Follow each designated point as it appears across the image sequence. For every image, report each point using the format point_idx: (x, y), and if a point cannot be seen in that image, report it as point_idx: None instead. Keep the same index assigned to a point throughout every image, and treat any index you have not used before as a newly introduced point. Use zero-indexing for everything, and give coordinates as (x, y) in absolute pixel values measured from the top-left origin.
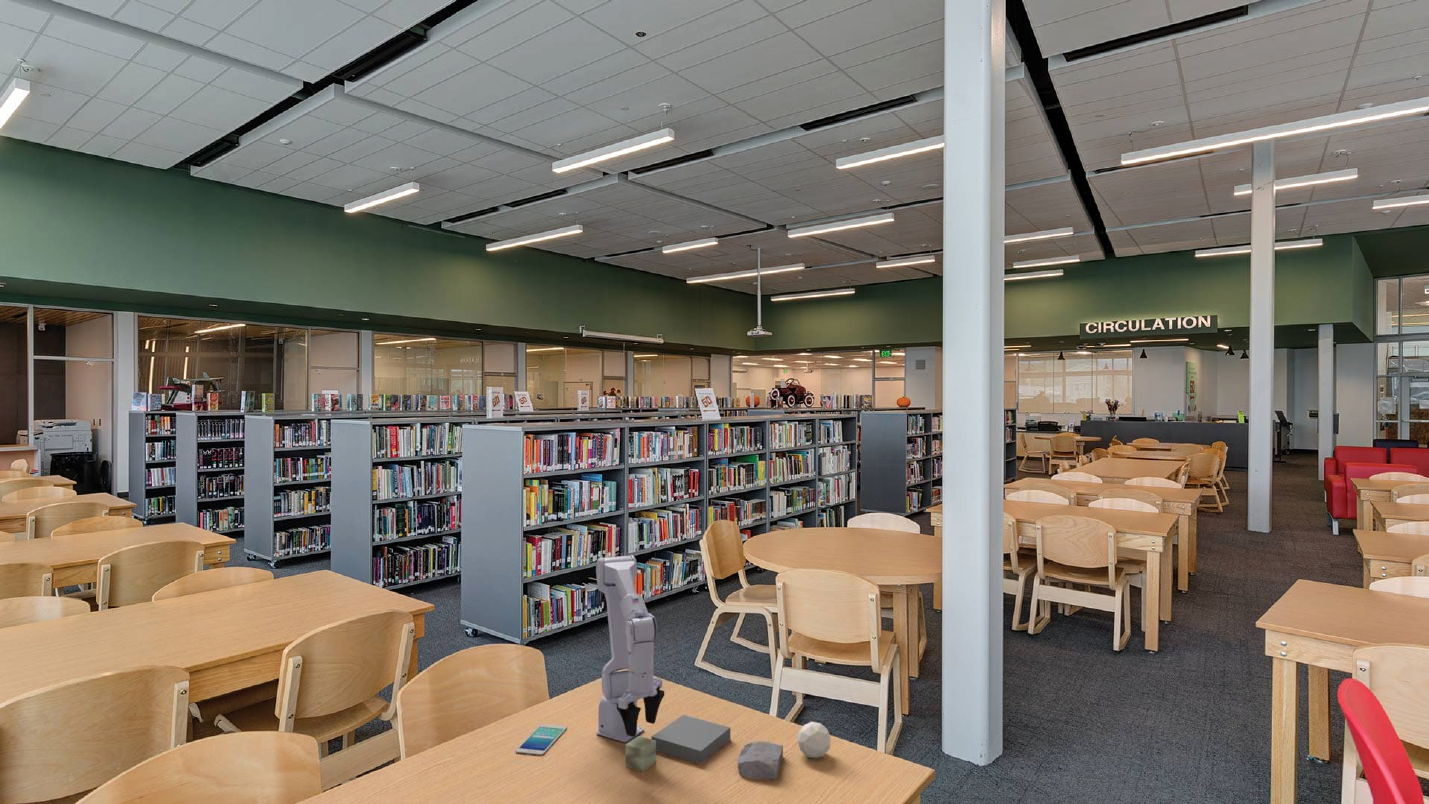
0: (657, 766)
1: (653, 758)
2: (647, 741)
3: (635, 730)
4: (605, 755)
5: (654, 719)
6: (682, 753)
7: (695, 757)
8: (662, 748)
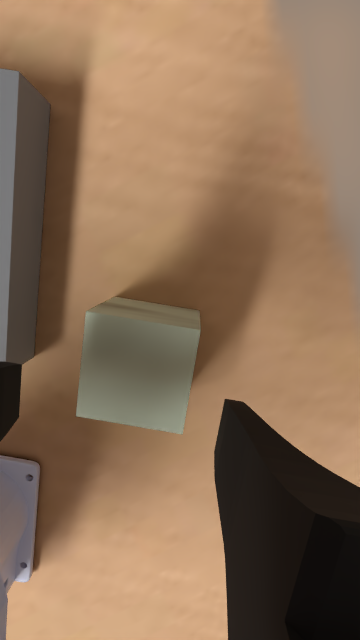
0: (142, 275)
1: (127, 302)
2: (110, 349)
3: (247, 412)
4: (146, 485)
5: (1, 367)
6: (33, 201)
7: (38, 126)
8: (29, 307)
